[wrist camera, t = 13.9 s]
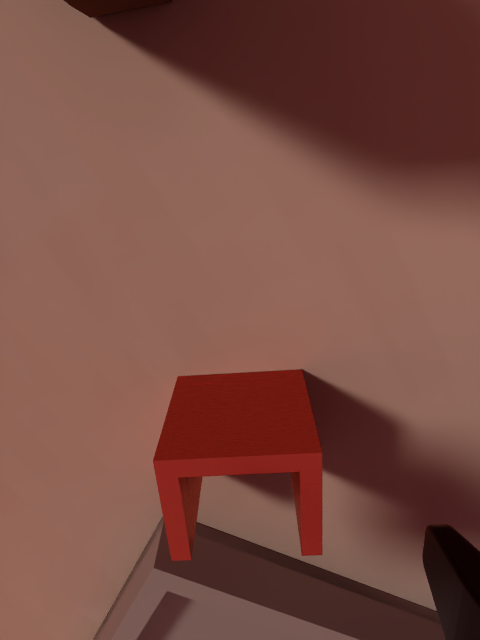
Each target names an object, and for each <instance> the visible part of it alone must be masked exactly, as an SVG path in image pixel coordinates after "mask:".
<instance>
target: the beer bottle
mask: <svg viewBox="0 0 480 640" xmlns="http://www.w3.org/2000/svg"><path fill="white" fill-rule="evenodd" d="M64 1H65V2H67V3H68V4H69V5H71V6H72V7H74V8H75V9H77V10H79V11H80V12H82V13H84V14H85V15H87V16H89V17H95V16H101V15H106V14H111V13H116V12H121V11H127V10H132V9H137V8H142V7H147V6H153V5H158V4H163V3H168V2H172V0H64Z"/></svg>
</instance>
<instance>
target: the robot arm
mask: <svg viewBox="0 0 480 640" xmlns="http://www.w3.org/2000/svg"><path fill="white" fill-rule="evenodd" d="M423 564H424V569H425V572H426V575H427V579H428V582H429V586H430V589H431V592H432V596H433V599H434V602H435V606H436V609H437V612H438V616H439V619H440V622H441V626H442V629H443V633H444V636H445V639H446V640H480V551H479V550H478V549H477V548H475V547H474V546H473V545H472V544H471V543H470V542H469V541H467V540H466V539H465V538H464V537H463V536H462V535H461V534H460V533H458V532H457V531H456V530H455V529H454V528H453V527H451V526H449V525H447V524H439V525H429V526H427V528H426V532H425V539H424V547H423Z"/></svg>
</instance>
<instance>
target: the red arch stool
mask: <svg viewBox="0 0 480 640" xmlns="http://www.w3.org/2000/svg"><path fill="white" fill-rule="evenodd" d="M153 464H154V469H155V474H156V480H157V485H158V491H159V496H160V501H161V507H162V512H163V517H164V523H165V528H166V534H167V539H168V544H169V550H170V555H171V561H180V560H191V559H192V552H193V544H194V537H195V529H196V521H197V514H198V506H199V499H200V491H201V483H202V476H221V475H242V474H263V473H284V472H291V478H292V485H293V493H294V500H295V508H296V515H297V523H298V530H299V537H300V545H301V552H302V556H307V555H322V449H321V445H320V441H319V437H318V433H317V429H316V425H315V421H314V417H313V413H312V409H311V405H310V400H309V396H308V392H307V388H306V384H305V380H304V376H303V372H302V369H301V370H283V371H266V372H248V373H231V374H213V375H195V376H178V377H177V381H176V384H175V388H174V391H173V394H172V398H171V401H170V405H169V408H168V412H167V415H166V418H165V422H164V425H163V429H162V432H161V435H160V439H159V442H158V446H157V449H156V452H155V456H154V459H153Z"/></svg>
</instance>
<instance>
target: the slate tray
mask: <svg viewBox="0 0 480 640" xmlns="http://www.w3.org/2000/svg"><path fill="white" fill-rule="evenodd" d="M93 640H446V639H445V636H444V633H443V629H442V626H441V622H440V619H439V616H438V612H436V611H433V610H430V609H428V608H425V607H422V606H419V605H417V604H414V603H411V602H409V601H406V600H403V599H401V598H398V597H395V596H393V595H390V594H387V593H385V592H382V591H379V590H376V589H374V588H371V587H368V586H366V585H363V584H360V583H358V582H355V581H352V580H350V579H347V578H344V577H342V576H339V575H336V574H333V573H331V572H328V571H325V570H323V569H320V568H317V567H315V566H312V565H309V564H307V563H304V562H301V561H299V560H296V559H293V558H290V557H288V556H285V555H282V554H280V553H277V552H274V551H272V550H269V549H266V548H264V547H261V546H258V545H256V544H253V543H250V542H247V541H245V540H242V539H239V538H237V537H234V536H231V535H229V534H226V533H223V532H221V531H218V530H215V529H213V528H210V527H207V526H205V525H202V524H199V523H196V529H195V537H194V544H193V552H192V559H191V560H180V561H171V555H170V550H169V544H168V539H167V534H166V528H165V523H164V517H162V519H161V521H160V523H159V524H158V526H157V528H156V530H155V531H154V533H153V535H152V537H151V538H150V540H149V542H148V544H147V545H146V547H145V549H144V551H143V552H142V554H141V556H140V558H139V560H138V561H137V563H136V565H135V567H134V568H133V570H132V572H131V574H130V575H129V577H128V579H127V581H126V582H125V584H124V586H123V588H122V590H121V591H120V593H119V595H118V597H117V598H116V600H115V602H114V604H113V605H112V607H111V609H110V611H109V612H108V614H107V616H106V618H105V619H104V621H103V623H102V625H101V627H100V628H99V630H98V632H97V634H96V635H95V637H94V639H93Z"/></svg>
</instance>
